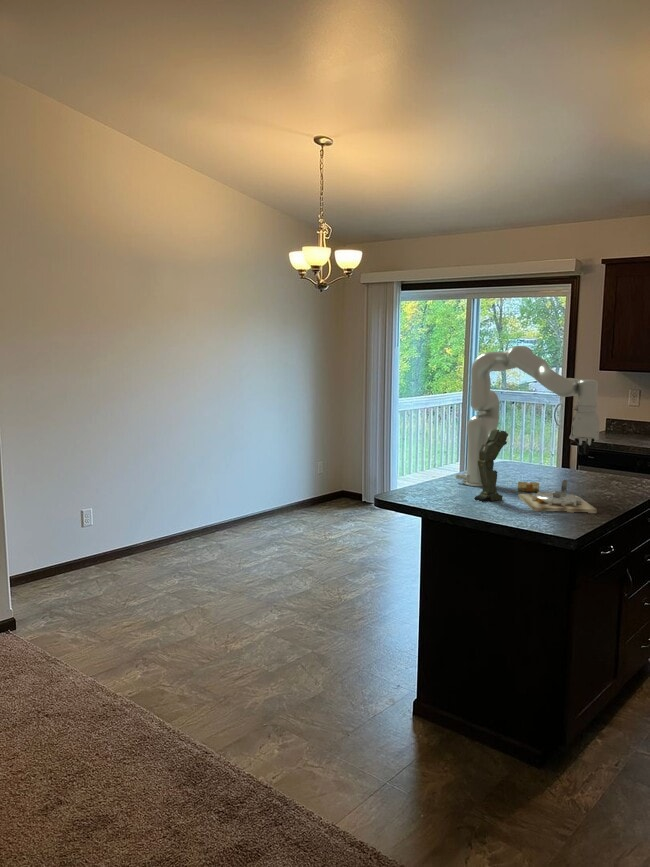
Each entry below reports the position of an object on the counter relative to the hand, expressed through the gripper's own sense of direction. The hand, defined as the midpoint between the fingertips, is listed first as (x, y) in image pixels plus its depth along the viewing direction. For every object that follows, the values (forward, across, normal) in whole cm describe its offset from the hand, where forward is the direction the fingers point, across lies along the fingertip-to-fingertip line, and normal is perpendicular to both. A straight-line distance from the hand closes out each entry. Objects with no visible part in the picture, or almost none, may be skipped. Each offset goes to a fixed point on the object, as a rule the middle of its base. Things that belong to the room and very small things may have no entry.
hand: (583, 454), depth 280 cm
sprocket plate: (+19, -13, -11) cm, 26 cm away
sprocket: (+17, -13, -10) cm, 24 cm away
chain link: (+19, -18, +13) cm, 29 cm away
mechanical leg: (+19, -38, -5) cm, 43 cm away
